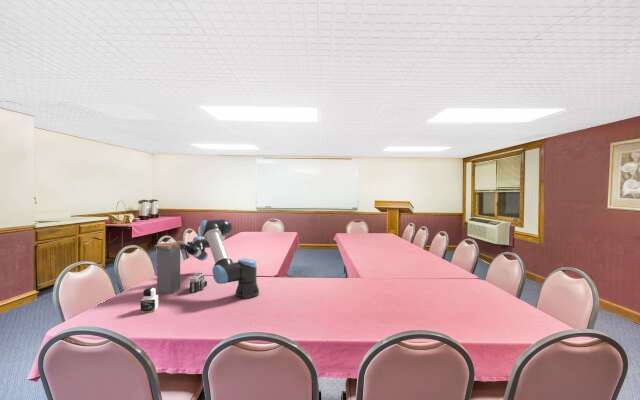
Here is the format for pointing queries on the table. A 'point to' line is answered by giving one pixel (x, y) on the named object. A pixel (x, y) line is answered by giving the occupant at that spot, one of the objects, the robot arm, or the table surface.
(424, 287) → the table surface
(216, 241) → the robot arm
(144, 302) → the medicine bottle
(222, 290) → the table surface
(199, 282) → the camera
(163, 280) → the charcoal pedestal
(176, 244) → the walnut paddle board
